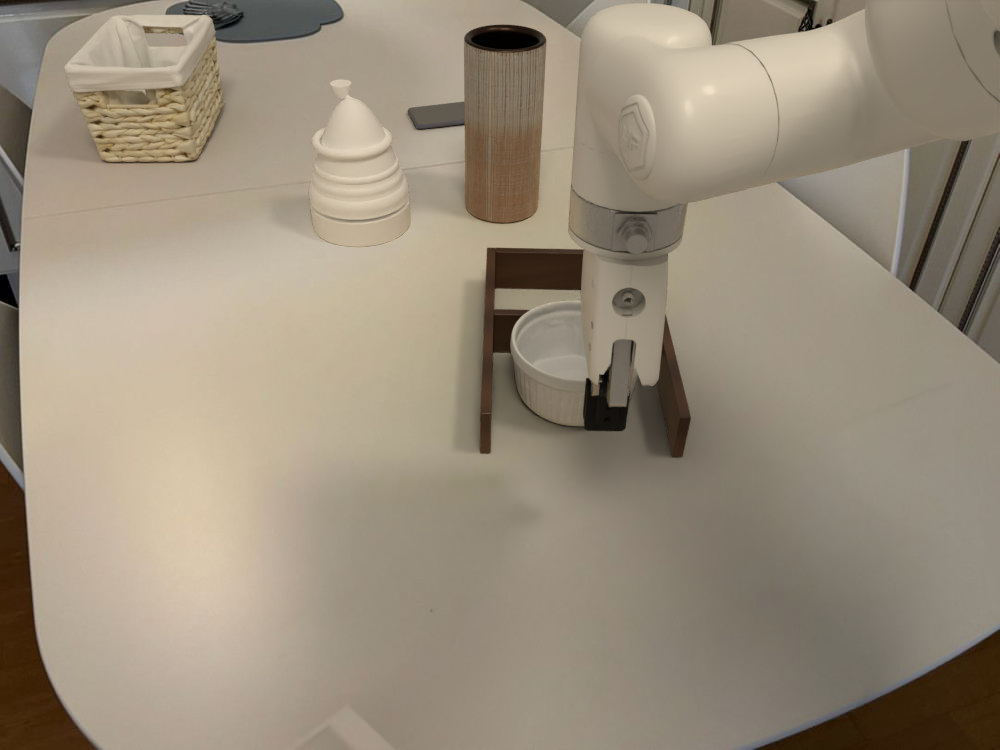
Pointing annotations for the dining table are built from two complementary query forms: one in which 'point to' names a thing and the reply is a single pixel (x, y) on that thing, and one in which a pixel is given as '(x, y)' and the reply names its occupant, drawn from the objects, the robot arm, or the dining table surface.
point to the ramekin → (552, 362)
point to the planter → (503, 121)
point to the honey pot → (357, 178)
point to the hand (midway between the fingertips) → (603, 424)
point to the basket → (148, 88)
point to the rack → (529, 273)
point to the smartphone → (438, 115)
